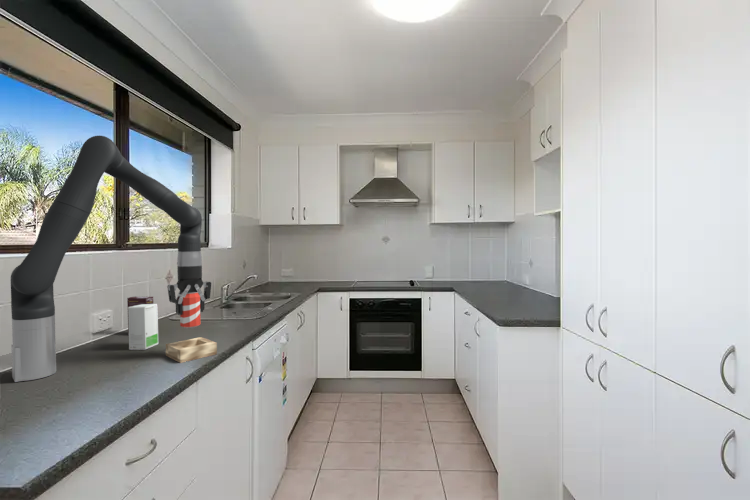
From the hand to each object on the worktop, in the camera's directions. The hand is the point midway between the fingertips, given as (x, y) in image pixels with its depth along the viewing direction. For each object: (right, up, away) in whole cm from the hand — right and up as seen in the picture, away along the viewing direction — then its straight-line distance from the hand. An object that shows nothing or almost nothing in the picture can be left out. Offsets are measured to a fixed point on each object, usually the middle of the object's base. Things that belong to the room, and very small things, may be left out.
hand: (190, 313), depth 127 cm
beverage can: (0, -5, 0) cm, 5 cm away
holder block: (0, -14, 0) cm, 14 cm away
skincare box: (-23, -15, +10) cm, 29 cm away
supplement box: (-36, -14, +29) cm, 48 cm away
